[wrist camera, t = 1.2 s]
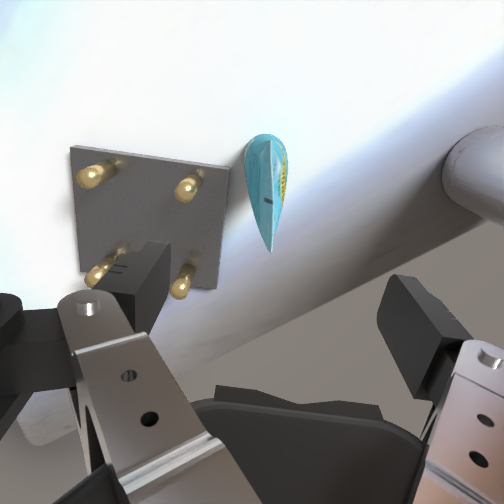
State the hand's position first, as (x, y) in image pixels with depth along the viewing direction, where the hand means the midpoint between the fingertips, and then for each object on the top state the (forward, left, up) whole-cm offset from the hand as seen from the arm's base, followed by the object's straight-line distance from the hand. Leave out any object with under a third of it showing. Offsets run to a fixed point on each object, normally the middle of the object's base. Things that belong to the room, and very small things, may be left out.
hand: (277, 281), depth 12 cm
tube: (0, 0, -30) cm, 30 cm away
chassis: (+13, +10, -30) cm, 34 cm away
